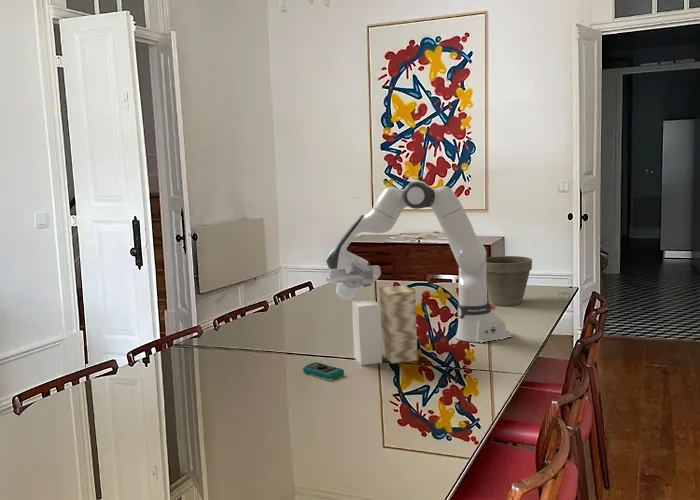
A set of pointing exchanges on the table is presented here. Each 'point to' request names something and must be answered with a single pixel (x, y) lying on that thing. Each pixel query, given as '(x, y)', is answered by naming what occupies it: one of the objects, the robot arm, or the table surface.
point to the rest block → (366, 331)
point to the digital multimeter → (323, 370)
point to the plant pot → (507, 279)
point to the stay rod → (362, 270)
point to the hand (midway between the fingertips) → (358, 266)
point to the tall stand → (398, 323)
